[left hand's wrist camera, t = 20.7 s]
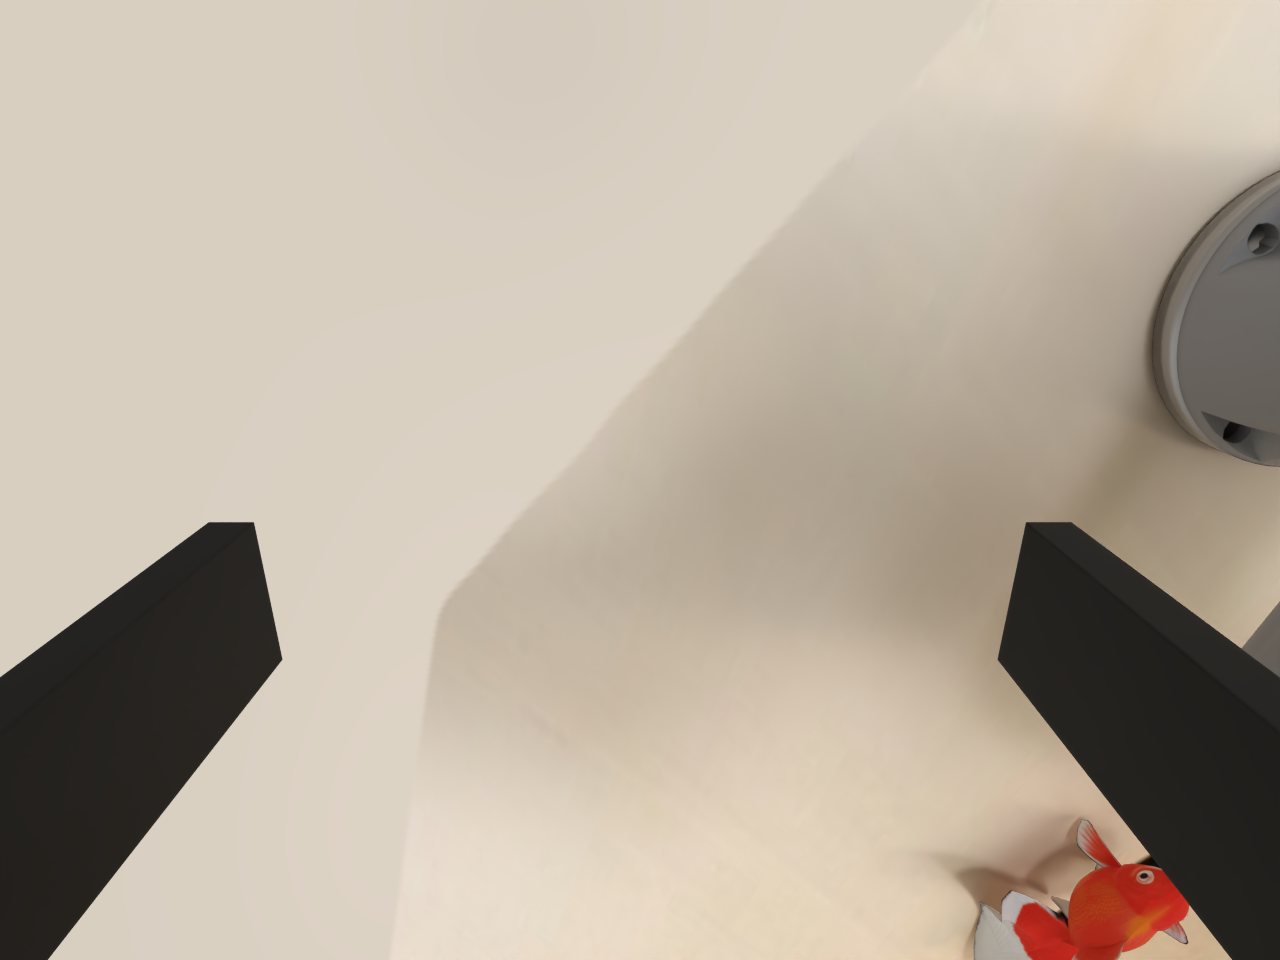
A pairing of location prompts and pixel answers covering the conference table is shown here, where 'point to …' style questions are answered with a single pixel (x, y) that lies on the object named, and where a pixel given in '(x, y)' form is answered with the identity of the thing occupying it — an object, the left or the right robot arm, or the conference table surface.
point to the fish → (1085, 913)
